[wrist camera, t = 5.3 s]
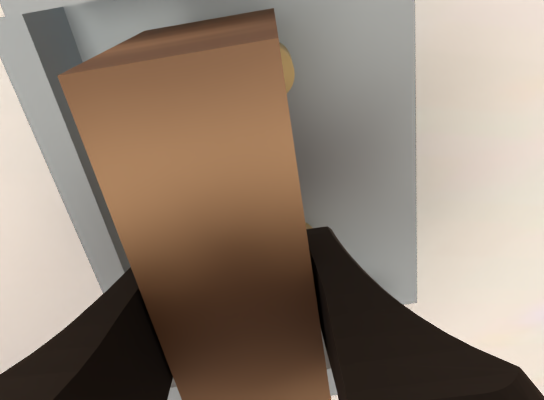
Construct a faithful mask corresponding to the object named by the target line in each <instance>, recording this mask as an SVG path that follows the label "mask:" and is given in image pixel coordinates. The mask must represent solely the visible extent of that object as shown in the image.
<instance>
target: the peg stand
mask: <svg viewBox="0 0 544 400" xmlns="http://www.w3.org/2000/svg"><path fill="white" fill-rule="evenodd" d="M0 4H1V7H2V9H3V12H4V14H5V17H1V18H0V58H1V60H2V63H3V65H4V67H5V70H6V72H7V74H8V76H9V79H10V81H11V83H12V86H13V88H14V90H15V92H16V95H17V97H18V99H19V102H20V104H21V106H22V108H23V111H24V113H25V115H26V118H27V120H28V122H29V125H30V127H31V129H32V131H33V134H34V136H35V138H36V141H37V143H38V145H39V147H40V150H41V152H42V154H43V157H44V159H45V161H46V163H47V166H48V168H49V170H50V173H51V175H52V177H53V179H54V182H55V184H56V186H57V189H58V191H59V193H60V195H61V198H62V200H63V202H64V205H65V207H66V209H67V212H68V214H69V216H70V218H71V221H72V223H73V225H74V228H75V230H76V232H77V234H78V237H79V239H80V241H81V244H82V246H83V248H84V250H85V253H86V255H87V257H88V260H89V262H90V264H91V266H92V269H93V271H94V273H95V276H96V278H97V280H98V282H99V285H100V287H101V289H102V292H103V294H104V293H105V292H106V291H107V290H108V289H109V288H110V287H111V286H112V285H113V284H114V283H115V282H116V281H117V280H118V279H119V278H120V277H121V276H122V275H123V274H124V273H125V272H126V271H127V270H128V269H129V268H130V267H131V266H130V264H129V261H128V259H127V256H126V253H125V251H124V248H123V246H122V243H121V240H120V238H119V235H118V233H117V230H116V227H115V225H114V222H113V220H112V217H111V214H110V212H109V209H108V207H107V204H106V201H105V199H104V196H103V194H102V191H101V188H100V186H99V183H98V181H97V178H96V175H95V173H94V170H93V168H92V165H91V162H90V160H89V157H88V155H87V152H86V149H85V147H84V144H83V142H82V139H81V136H80V134H79V131H78V129H77V126H76V123H75V121H74V118H73V116H72V113H71V110H70V108H69V105H68V103H67V100H66V97H65V95H64V92H63V90H62V87H61V84H60V82H59V79H58V77H57V76H58V75H60V74H61V73H63V72H65V71H67V70H69V69H71V68H73V67H75V66H77V65H79V64H81V63H83V62H85V61H87V60H89V59H91V58H93V57H94V56H96V55H98V54H100V53H102V52H104V51H106V50H108V49H110V48H112V47H114V46H116V45H118V44H120V43H122V42H124V41H126V40H128V39H129V38H131V37H133V36H135V35H137V34H139V33H141V32H143V31H146V30H151V29H157V28H163V27H168V26H174V25H180V24H185V23H191V22H197V21H203V20H208V19H214V18H220V17H225V16H231V15H237V14H242V13H248V12H254V11H260V10H265V9H271V8H274V12H275V19H276V25H277V31H278V38H279V45H280V52H281V59H282V65H283V72H284V79H285V86H286V93H287V100H288V107H289V114H290V120H291V127H292V134H293V141H294V148H295V155H296V162H297V169H298V176H299V182H300V189H301V196H302V203H303V210H304V217H305V224H306V229H312V228H319V227H326V226H328V227H329V228H331V229H332V230H333V232H334V234H335V236H336V237H337V239H338V240H339V241H340V243H341V244H342V245H343V247H344V248H345V249H346V251H347V252H348V253H349V254H350V255H351V257H352V258H353V259H354V260H355V261H356V262H357V263H358V264H359V265H360V266H361V268H362V269H363V270H364V271H365V272H366V273H367V274H368V275H369V276H370V277H371V278H372V279H373V280H374V281H376V282H377V283H378V284H379V285H380V286H381V287H382V288H383V289H384V290H385V291H387V292H388V293H389V294H390V295H391V296H393V297H394V298H395V299H396V300H398V301H399V302H400V303H401V304H411V303H417V242H416V85H415V0H0ZM321 334H322V331H321ZM322 341H323V348H324V354H325V361H326V368H327V375H328V382H329V389H330V395H338V394H337V390H336V386H335V382H334V378H333V374H332V370H331V366H330V362H329V358H328V355H327V351H326V347H325V343H324V339H323V335H322ZM167 400H182V399H181V396H180V394H179V391H178V388H177V386H176V383H175V381H174V378H173V379H172V383H171V387H170V391H169V395H168V399H167Z"/></svg>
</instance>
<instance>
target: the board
mask: <svg viewBox="0 0 544 400" xmlns="http://www.w3.org/2000/svg"><path fill="white" fill-rule="evenodd" d="M57 77H58V79H59V82H60V84H61V87H62V90H63V92H64V95H65V97H66V100H67V103H68V105H69V108H70V110H71V113H72V116H73V118H74V121H75V123H76V126H77V129H78V131H79V134H80V136H81V139H82V142H83V144H84V147H85V149H86V152H87V155H88V157H89V160H90V162H91V165H92V168H93V170H94V173H95V175H96V178H97V181H98V183H99V186H100V188H101V191H102V194H103V196H104V199H105V201H106V204H107V207H108V209H109V212H110V214H111V217H112V220H113V222H114V225H115V227H116V230H117V233H118V235H119V238H120V240H121V243H122V246H123V248H124V251H125V253H126V256H127V259H128V261H129V264H130V266H131V269H132V272H133V274H134V277H135V279H136V282H137V285H138V287H139V290H140V292H141V295H142V298H143V300H144V303H145V305H146V308H147V311H148V313H149V316H150V318H151V321H152V324H153V326H154V329H155V331H156V334H157V337H158V339H159V342H160V344H161V347H162V349H163V352H164V355H165V357H166V360H167V362H168V365H169V368H170V370H171V373H172V375H173V378H174V381H175V383H176V386H177V388H178V391H179V394H180V396H181V399H182V400H331V396H330V389H329V382H328V375H327V368H326V361H325V354H324V348H323V341H322V334H321V327H320V320H319V313H318V306H317V299H316V293H315V286H314V279H313V272H312V265H311V258H310V251H309V244H308V237H307V231H306V224H305V217H304V210H303V203H302V196H301V189H300V182H299V176H298V169H297V162H296V155H295V148H294V141H293V134H292V127H291V120H290V114H289V107H288V100H287V93H286V86H285V79H284V72H283V65H282V59H281V52H280V45H279V38H278V31H277V25H276V19H275V12H274V8H271V9H265V10H260V11H254V12H248V13H242V14H237V15H231V16H225V17H220V18H214V19H208V20H203V21H197V22H191V23H185V24H180V25H174V26H168V27H163V28H157V29H151V30H146V31H143V32H141V33H139V34H137V35H135V36H133V37H131V38H129V39H128V40H126V41H124V42H122V43H120V44H118V45H116V46H114V47H112V48H110V49H108V50H106V51H104V52H102V53H100V54H98V55H96V56H94V57H93V58H91V59H89V60H87V61H85V62H83V63H81V64H79V65H77V66H75V67H73V68H71V69H69V70H67V71H65V72H63V73H61V74H60V75H58V76H57Z"/></svg>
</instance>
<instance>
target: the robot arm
mask: <svg viewBox="0 0 544 400" xmlns="http://www.w3.org/2000/svg"><path fill="white" fill-rule="evenodd" d="M306 231H307V237H308V244H309V251H310V258H311V265H312V272H313V279H314V286H315V293H316V299H317V306H318V313H319V320H320V327H321V331H322V335H323V339H324V343H325V347H326V351H327V355H328V358H329V362H330V366H331V370H332V374H333V378H334V382H335V386H336V390H337V394H338V399H339V400H544V396H543V395H542V393H541V392H540V391H539V390H538V388H537V387H536V386H535V385H534V384H533V382H532V381H531V380H530V379H529V378H528V376H527V375H526V374H525V373H524V372H523V370H522V369H521V368H520V367H518V366H516V365H513V364H511V363H509V362H507V361H504V360H502V359H500V358H497V357H495V356H493V355H490V354H488V353H486V352H483V351H481V350H479V349H477V348H474V347H472V346H470V345H468V344H467V343H465V342H463V341H461V340H459V339H457V338H455V337H453V336H451V335H449V334H447V333H446V332H444V331H442V330H441V329H439V328H437V327H436V326H434V325H432V324H431V323H429V322H428V321H426V320H424V319H423V318H421V317H420V316H418V315H417V314H415V313H414V312H412V311H411V310H410V309H408V308H407V307H405V306H404V305H403V304H401V303H400V302H399V301H398V300H396V299H395V298H394V297H393V296H391V295H390V294H389V293H388V292H387V291H385V290H384V289H383V288H382V287H381V286H380V285H379V284H378V283H377V282H376V281H374V280H373V279H372V278H371V277H370V276H369V275H368V274H367V273H366V272H365V271H364V270H363V269H362V268H361V266H360V265H359V264H358V263H357V262H356V261H355V260H354V259H353V258H352V257H351V255H350V254H349V253H348V252H347V251H346V249H345V248H344V247H343V245H342V244H341V243H340V241H339V240H338V239H337V237H336V236H335V234H334V232H333V230H332V229H331V228H329V227H328V226H326V227H319V228H312V229H306ZM172 379H173V375H172V373H171V370H170V368H169V365H168V362H167V360H166V357H165V355H164V352H163V349H162V347H161V344H160V342H159V339H158V337H157V334H156V331H155V329H154V326H153V324H152V321H151V318H150V316H149V313H148V311H147V308H146V305H145V303H144V300H143V298H142V295H141V292H140V290H139V287H138V285H137V282H136V279H135V277H134V274H133V272H132V269H131V267H130V268H129V269H128V270H127V271H126V272H125V273H124V274H123V275H122V276H121V277H120V278H119V279H118V280H117V281H116V282H115V283H114V284H113V285H112V286H111V287H110V288H109V289H108V290H107V291H106V292H105V293H104V294H103V295H102V296H101V297H100V298H98V299H97V300H96V301H95V302H94V303H93V304H92V305H91V306H90V307H88V308H87V309H86V310H85V311H84V312H83V313H82V314H81V315H80V316H78V317H77V318H76V319H75V320H74V321H73V322H72V323H71V324H69V325H68V326H67V327H66V328H65V329H63V330H62V331H61V332H60V333H58V334H57V335H56V336H55V337H53V338H52V339H51V340H49V341H48V342H47V343H45V344H44V345H43V346H41V347H40V348H39V349H37V350H36V351H35V352H33V353H32V354H30V355H29V356H27V357H26V358H24V359H23V360H21V361H20V362H18V363H17V364H15V365H14V366H12V367H11V368H9V369H8V370H6V371H5V372H3V373H2V374H0V400H167V399H168V395H169V391H170V387H171V383H172Z"/></svg>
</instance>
